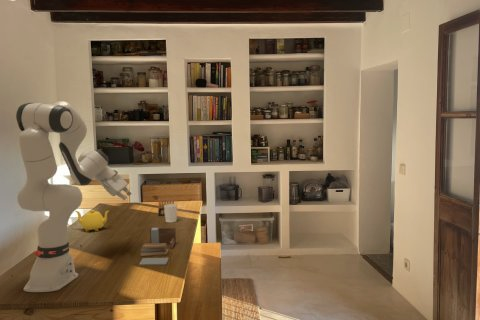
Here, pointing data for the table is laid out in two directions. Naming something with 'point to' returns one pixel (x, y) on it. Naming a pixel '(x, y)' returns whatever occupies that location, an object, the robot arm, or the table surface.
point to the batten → (155, 235)
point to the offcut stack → (154, 249)
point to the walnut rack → (166, 236)
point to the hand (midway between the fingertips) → (128, 196)
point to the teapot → (92, 220)
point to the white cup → (170, 212)
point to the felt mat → (153, 261)
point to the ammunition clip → (161, 208)
